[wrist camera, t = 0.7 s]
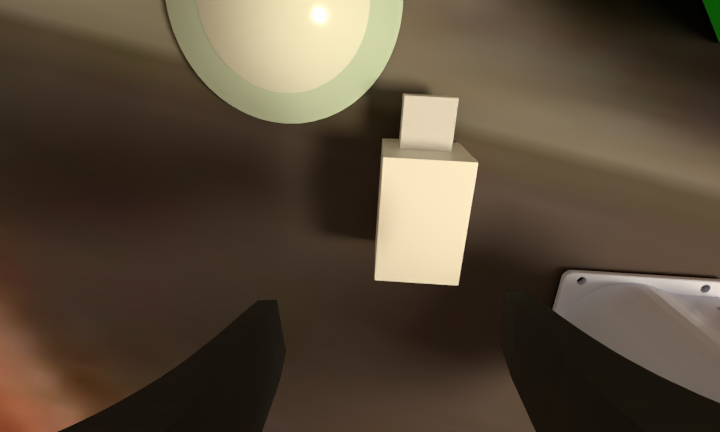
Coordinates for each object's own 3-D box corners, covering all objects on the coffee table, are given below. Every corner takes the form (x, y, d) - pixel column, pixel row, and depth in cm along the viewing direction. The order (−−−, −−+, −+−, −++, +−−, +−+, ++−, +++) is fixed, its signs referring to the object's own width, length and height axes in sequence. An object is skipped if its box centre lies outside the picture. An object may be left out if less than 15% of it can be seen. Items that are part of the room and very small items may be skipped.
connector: (443, 244, 23) (458, 285, 18) (375, 240, 23) (374, 280, 18) (464, 94, 19) (488, 103, 15) (385, 90, 20) (387, 97, 15)
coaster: (414, -141, 16) (415, -148, 15) (392, 127, 20) (393, 129, 20) (152, -151, 16) (144, -159, 16) (184, 116, 20) (179, 117, 20)
